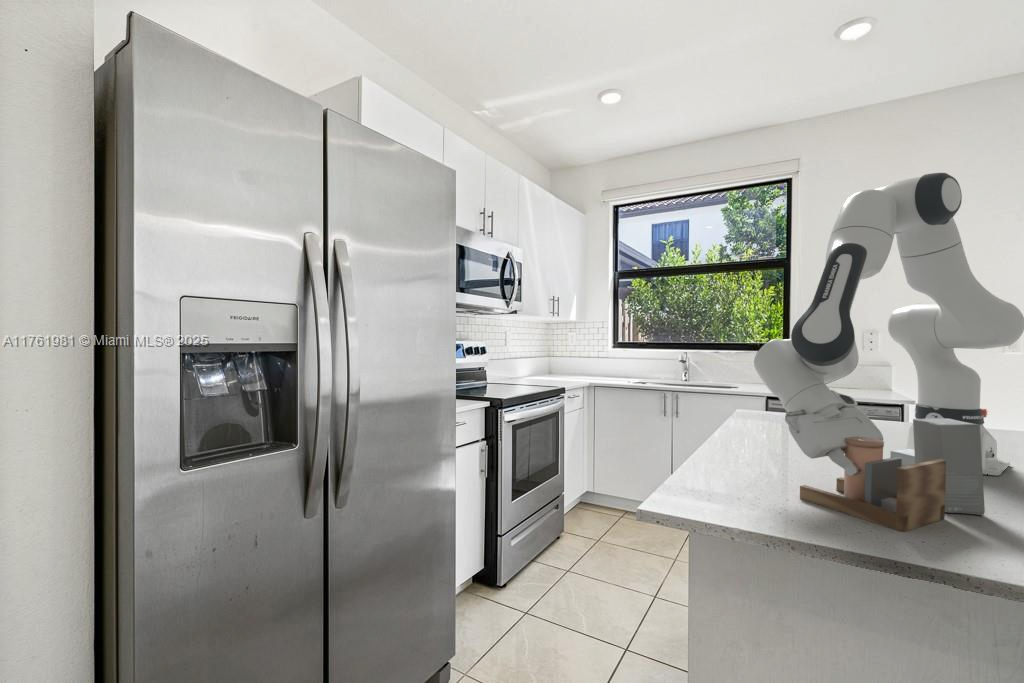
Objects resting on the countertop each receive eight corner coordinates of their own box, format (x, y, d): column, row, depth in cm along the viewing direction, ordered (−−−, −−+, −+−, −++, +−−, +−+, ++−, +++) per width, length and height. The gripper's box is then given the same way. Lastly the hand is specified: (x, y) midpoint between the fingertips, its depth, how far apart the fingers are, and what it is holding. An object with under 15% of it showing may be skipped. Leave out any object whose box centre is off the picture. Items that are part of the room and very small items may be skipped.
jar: (854, 496, 93) (856, 435, 93) (889, 506, 88) (890, 441, 87) (836, 501, 90) (837, 438, 90) (870, 512, 85) (872, 444, 85)
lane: (840, 489, 99) (841, 439, 98) (944, 518, 83) (946, 460, 83) (799, 498, 93) (800, 446, 93) (903, 531, 78) (904, 469, 77)
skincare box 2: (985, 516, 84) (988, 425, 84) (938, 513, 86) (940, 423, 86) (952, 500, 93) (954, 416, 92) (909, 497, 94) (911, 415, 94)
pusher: (894, 506, 89) (895, 457, 88) (916, 512, 85) (917, 461, 85) (864, 514, 84) (865, 462, 84) (886, 521, 81) (887, 467, 81)
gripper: (792, 402, 90) (846, 469, 82) (857, 396, 99) (912, 456, 91) (769, 422, 94) (819, 487, 86) (834, 415, 103) (885, 473, 95)
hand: (867, 471), depth 88 cm, fingers closed on jar, 5 cm apart
